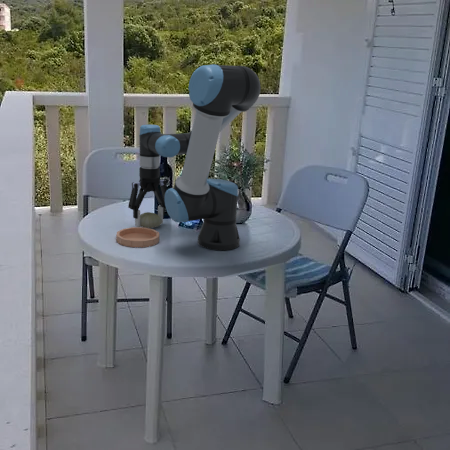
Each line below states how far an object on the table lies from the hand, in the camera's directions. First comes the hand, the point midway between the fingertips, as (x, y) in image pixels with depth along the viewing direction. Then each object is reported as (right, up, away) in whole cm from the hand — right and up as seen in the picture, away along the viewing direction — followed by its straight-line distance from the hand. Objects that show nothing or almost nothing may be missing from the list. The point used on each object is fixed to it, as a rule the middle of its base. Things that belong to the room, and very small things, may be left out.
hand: (149, 224), depth 219 cm
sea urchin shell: (0, -1, 0) cm, 1 cm away
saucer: (-2, -6, -15) cm, 16 cm away
